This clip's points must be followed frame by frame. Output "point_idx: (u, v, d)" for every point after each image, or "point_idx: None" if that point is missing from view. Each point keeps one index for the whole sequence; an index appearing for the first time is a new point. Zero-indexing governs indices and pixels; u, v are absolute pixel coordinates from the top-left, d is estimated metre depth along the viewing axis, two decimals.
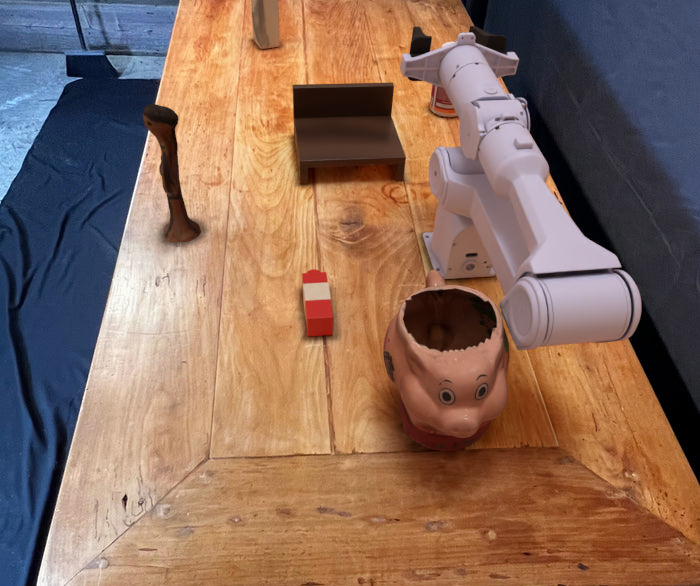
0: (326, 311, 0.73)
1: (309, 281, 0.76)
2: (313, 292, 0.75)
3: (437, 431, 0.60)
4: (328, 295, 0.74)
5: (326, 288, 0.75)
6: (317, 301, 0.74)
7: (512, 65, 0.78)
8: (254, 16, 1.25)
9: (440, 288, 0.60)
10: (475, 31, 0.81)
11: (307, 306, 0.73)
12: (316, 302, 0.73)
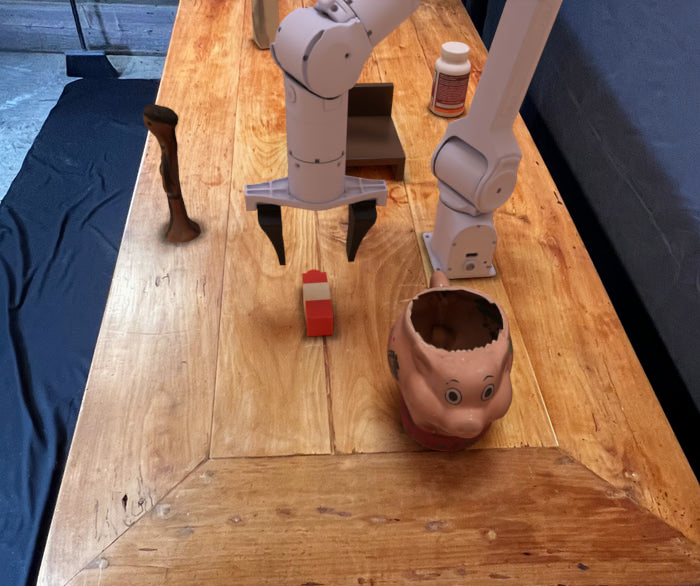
0: (326, 311, 0.73)
1: (309, 281, 0.76)
2: (313, 292, 0.75)
3: (439, 431, 0.61)
4: (328, 295, 0.74)
5: (326, 288, 0.75)
6: (317, 301, 0.74)
7: None
8: (254, 16, 1.25)
9: (446, 289, 0.61)
10: (347, 235, 0.70)
11: (307, 306, 0.73)
12: (316, 302, 0.73)
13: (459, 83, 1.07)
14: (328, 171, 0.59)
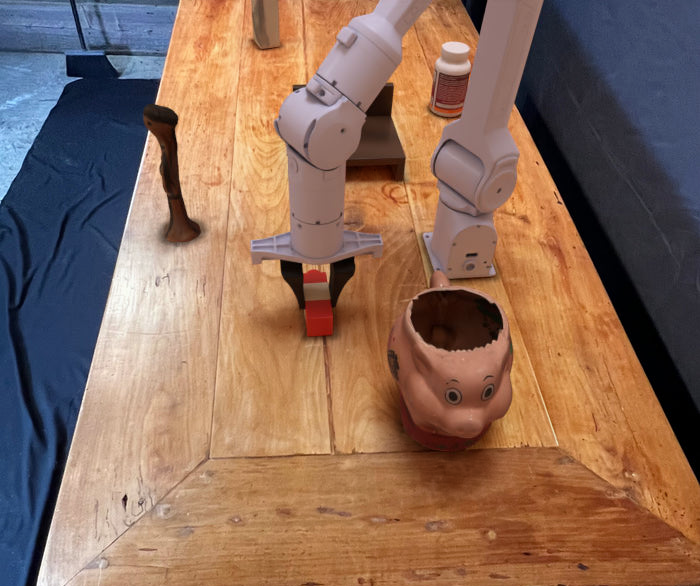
0: (326, 311, 0.73)
1: (309, 281, 0.76)
2: (312, 292, 0.75)
3: (439, 431, 0.61)
4: (328, 295, 0.74)
5: (326, 288, 0.75)
6: (317, 301, 0.74)
7: None
8: (254, 16, 1.25)
9: (446, 289, 0.61)
10: (329, 282, 0.75)
11: (307, 306, 0.73)
12: (316, 302, 0.73)
13: (459, 83, 1.07)
14: (328, 231, 0.64)
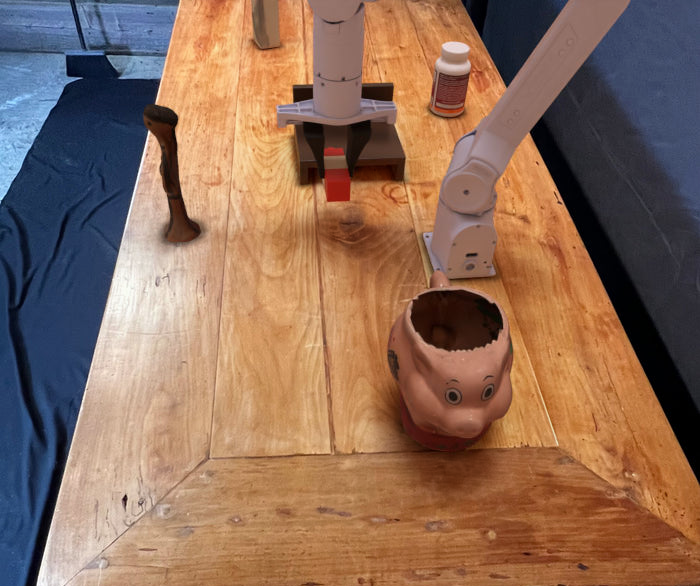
0: (344, 176, 0.79)
1: (327, 155, 0.83)
2: (331, 162, 0.81)
3: (439, 431, 0.61)
4: (345, 165, 0.81)
5: (344, 160, 0.82)
6: (335, 169, 0.80)
7: None
8: (254, 16, 1.25)
9: (446, 289, 0.61)
10: (346, 154, 0.82)
11: (326, 173, 0.80)
12: (334, 170, 0.80)
13: (459, 83, 1.07)
14: (348, 89, 0.71)
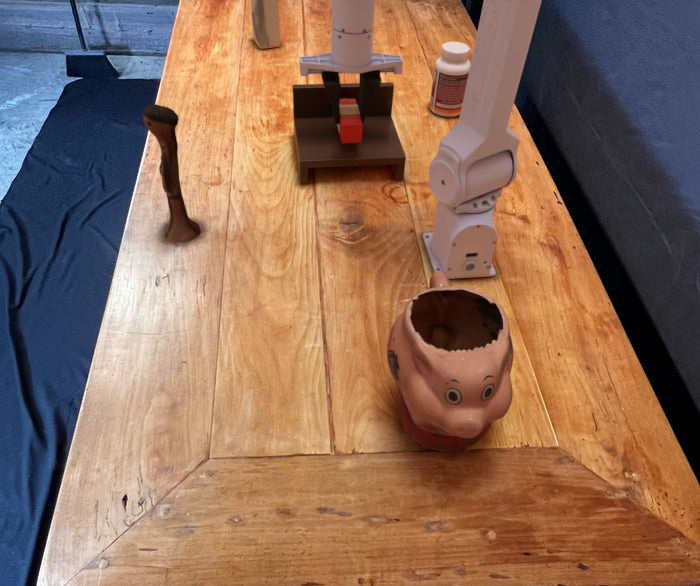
0: (357, 120, 0.92)
1: (342, 104, 0.95)
2: (345, 109, 0.94)
3: (439, 431, 0.61)
4: (358, 111, 0.94)
5: (356, 107, 0.95)
6: (349, 115, 0.93)
7: None
8: (254, 16, 1.25)
9: (446, 288, 0.61)
10: (358, 103, 0.94)
11: (341, 117, 0.93)
12: (348, 115, 0.93)
13: (459, 83, 1.07)
14: (361, 41, 0.84)
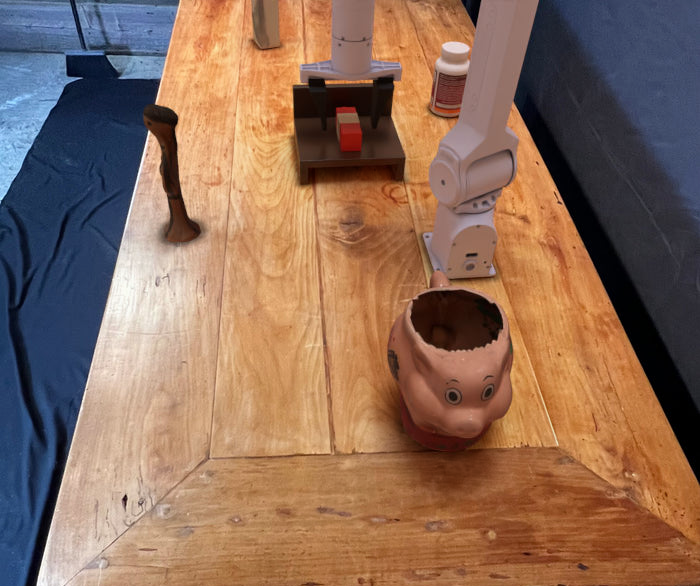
0: (356, 129, 0.93)
1: (342, 112, 0.96)
2: (345, 118, 0.95)
3: (439, 431, 0.61)
4: (357, 120, 0.95)
5: (356, 116, 0.96)
6: (349, 123, 0.94)
7: None
8: (254, 16, 1.25)
9: (446, 289, 0.61)
10: (371, 109, 0.95)
11: (341, 126, 0.94)
12: (348, 124, 0.94)
13: (459, 83, 1.07)
14: (361, 49, 0.85)
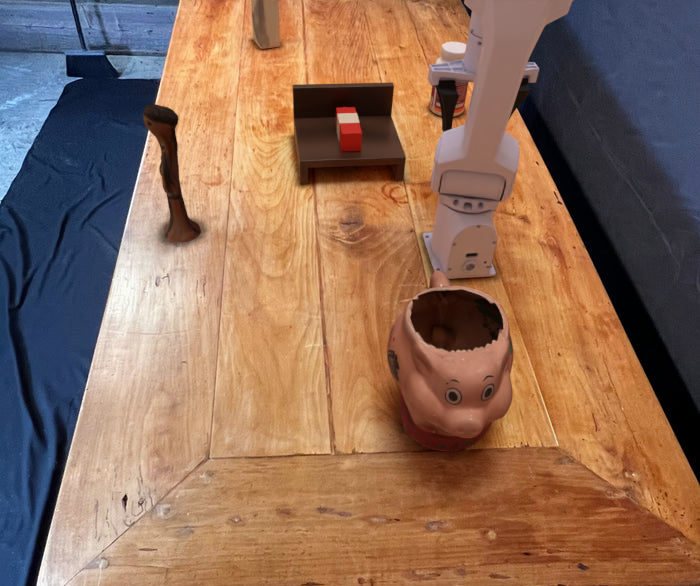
0: (356, 129, 0.93)
1: (342, 112, 0.96)
2: (345, 118, 0.95)
3: (439, 431, 0.61)
4: (357, 120, 0.95)
5: (356, 116, 0.96)
6: (349, 123, 0.94)
7: None
8: (254, 16, 1.25)
9: (446, 289, 0.61)
10: None
11: (341, 126, 0.94)
12: (348, 124, 0.94)
13: (459, 83, 1.07)
14: None
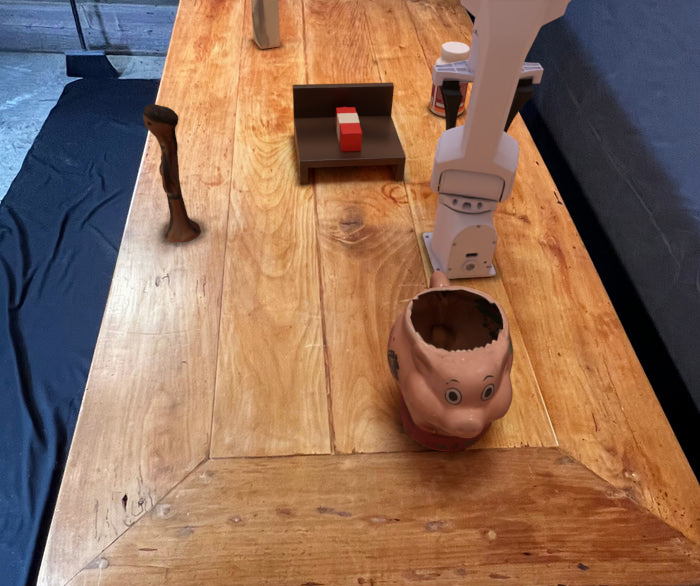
0: (356, 129, 0.93)
1: (342, 112, 0.96)
2: (345, 118, 0.95)
3: (439, 431, 0.61)
4: (357, 120, 0.95)
5: (356, 116, 0.96)
6: (349, 123, 0.94)
7: None
8: (254, 16, 1.25)
9: (446, 288, 0.61)
10: None
11: (341, 126, 0.94)
12: (348, 124, 0.94)
13: (459, 83, 1.07)
14: None
